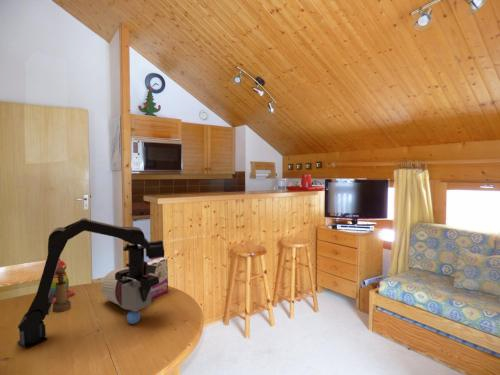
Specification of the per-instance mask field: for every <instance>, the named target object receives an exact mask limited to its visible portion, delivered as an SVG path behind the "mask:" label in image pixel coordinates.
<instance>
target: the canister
mask: <svg viewBox="0 0 500 375" xmlns="http://www.w3.org/2000/svg"><path fill="white" fill-rule="evenodd" d="M124 269H129V267H122V268H116V269H113V270H111V271H110V272H108V273H107V274H106V275H105V276H104V278H103V279H102V281H101V293H102V295H103V297H104V298H106V300H107V301H110V302H111V303H114V304H116V305H118V306H119V307H120V308H122V310H127V311H130V310H129V309H126V308H123V307H122V291H121V284H120V283H119V282H118V281H119V280H115V274H116V273H117V272H118V271H121V270H124ZM147 276H150V273H148V275H144V277H147ZM151 290H152V287H151Z"/></svg>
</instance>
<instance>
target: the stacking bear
mask: <svg viewBox="0 0 500 375" xmlns="http://www.w3.org/2000/svg"><path fill="white" fill-rule="evenodd" d="M58 267H63V268H64V270H65V271H64V273H63V277H64V280H63V282H66V283H67V299H68V298H71V297H73V296H75V292H74V290H69V285H70V281H69V277H68V274H67V272H66V269H67V264H66V262H64V261H63V260H62V259H61V258H59V262H58V265H57V268H58ZM56 270H57V269H56ZM58 277H59V275H58V274H57V272H55V276H54V279H53V283H52V286H51V289H50V297H54V299H53V301H52V304H54V303H55V302H56V283H58V282H59V281H58Z"/></svg>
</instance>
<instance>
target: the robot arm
mask: <svg viewBox="0 0 500 375" xmlns="http://www.w3.org/2000/svg"><path fill="white" fill-rule="evenodd" d="M83 232H89V233H94V234H100V235H104V236H108V237H113V238H118V239H120V240H123V241H124V242H126V244H125V245H124V246H123V247H122V250H123V252H125V251H126V252H128V254H127V255H128V258H127V259H128V263H126V264H125V266H126V267H125V268H129V269H124V270H121V271H118V272H117V273H116V274H115V280H119V281H118V282H119V283H120V284H121V285H122V284H125V283H128V282H130V281H133V280H137V281H140V285H141V286H140V287H139V290H140V293H141V297H142V300H143V302H145V301H146V299H147V296H148V293H149V291H150V289H151V287H152V286H155V285H157V284H159V278H158V277H157V276H153V275H150V276H147V277H144V275H148V273H153V274H155V270H156V266H154V265H149V264H147V262H148V261H145V257H147V258H148V259H149V260H154V259H157V258H165V247H164V242H163V240H162V239H161V240H155V241H149V240H148V239H147V238H146V237H145V233H144V232H143V230H142V229H141V228H140V227H138V226H118V225H113V224H111V223H110V224H109V223H105V222H101V221H96V220H91V219H88V218H86V217H83V218H80V219H79V220H77V221H75V222H73V223H70V224H67V225H66V226H64V227H60V226H59V227H57V228H54V229H53V230H52V232H50V234H49V235H48V239H47V240H48V241H47V256H46V257H47V258H46V260H45V264H44V267H43V271H42V274H41V278H40V280H39V283H38V288H37V290H36V295H35V296H34V298H33V300H32V302H31V304H30V306H29V308H28V310H27V312H25V314H24V315H23V316H22V318H21V320H20V322H19V324H18V326H17V328H18V329H19V330H18V332H19V341H17V342H16V343H17V344H18V345H19V346H21V347H23V348H25V349H29V348H32V347H34V346H36V345H38V344H40V343H42V342H43V343H44V342H45V341H47V340H48V337H46V336H47V334H46V333H47V332H46V324H45V323H44V320H45V318H46V317H47V316H49V315H50V312H51V309H52V308H53V303H52V301H53V299H54V297H50V289H51V286H52V283H53V279H54V276H55V272H56V269H57V265H58V262H59V259H61V255H62V252H63V251H64V249H65V247H66V245H67V243H68V241H69V240H71V239H72V238H74V237H76V236H77V235H80V234H81V233H83Z"/></svg>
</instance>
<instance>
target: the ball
mask: <svg viewBox="0 0 500 375" xmlns="http://www.w3.org/2000/svg"><path fill="white" fill-rule="evenodd" d="M141 316H142V315H141V312H140V310H138V311H136V312H135V311H132V310H129V312H128V313H127V315H126V320H127V323H129V324H130V325H133V324H136V323H138V322H139V321H140V320H141Z"/></svg>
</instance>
